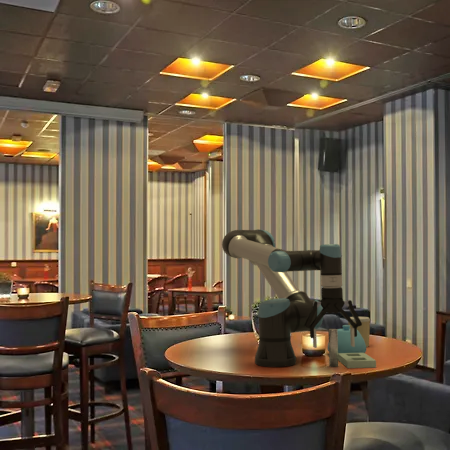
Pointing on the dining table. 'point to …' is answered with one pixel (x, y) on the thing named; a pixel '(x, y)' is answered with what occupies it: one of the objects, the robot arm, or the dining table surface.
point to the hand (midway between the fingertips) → (333, 346)
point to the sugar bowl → (349, 341)
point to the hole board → (356, 360)
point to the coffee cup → (363, 328)
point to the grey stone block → (333, 347)
